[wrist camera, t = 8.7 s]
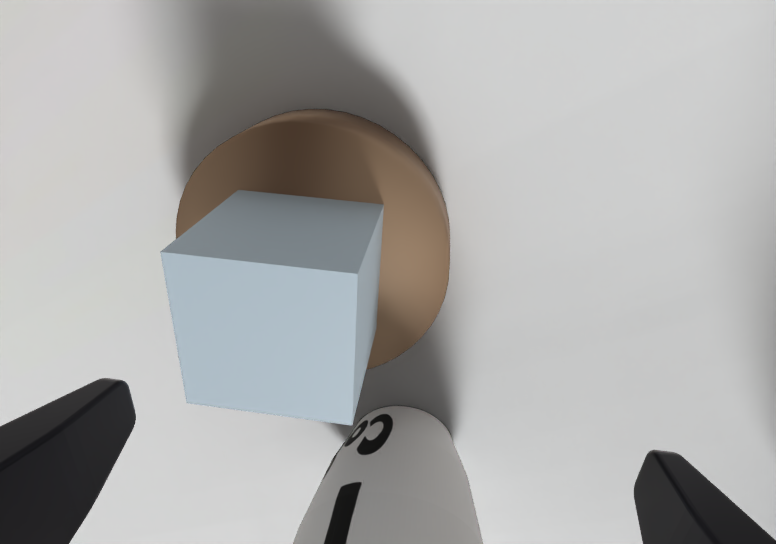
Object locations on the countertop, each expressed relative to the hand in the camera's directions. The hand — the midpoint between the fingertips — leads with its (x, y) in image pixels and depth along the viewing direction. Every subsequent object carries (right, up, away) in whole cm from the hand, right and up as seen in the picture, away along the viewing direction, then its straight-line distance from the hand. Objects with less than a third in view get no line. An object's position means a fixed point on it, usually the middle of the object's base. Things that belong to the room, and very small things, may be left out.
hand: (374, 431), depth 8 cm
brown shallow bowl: (-2, +4, +11) cm, 12 cm away
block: (-3, +3, +9) cm, 10 cm away
